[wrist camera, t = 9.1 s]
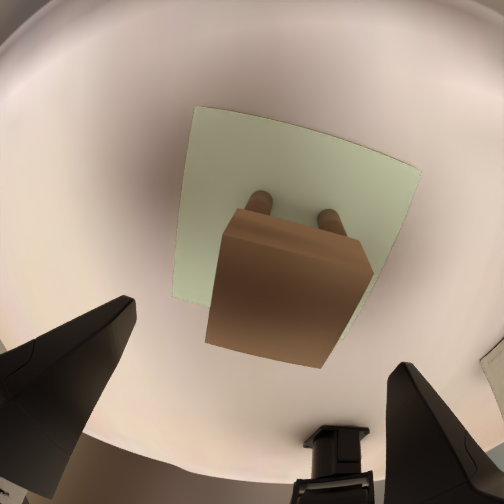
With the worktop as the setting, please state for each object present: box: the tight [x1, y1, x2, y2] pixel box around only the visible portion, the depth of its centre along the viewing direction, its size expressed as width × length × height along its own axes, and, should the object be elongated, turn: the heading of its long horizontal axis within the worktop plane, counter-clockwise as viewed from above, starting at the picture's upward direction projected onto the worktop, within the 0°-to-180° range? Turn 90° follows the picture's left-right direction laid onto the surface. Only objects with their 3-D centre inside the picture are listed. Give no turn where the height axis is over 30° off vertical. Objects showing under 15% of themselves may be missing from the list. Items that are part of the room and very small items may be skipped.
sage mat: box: [172, 106, 422, 339], centre depth 15 cm, size 12×12×1 cm
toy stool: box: [205, 190, 374, 369], centre depth 12 cm, size 5×5×6 cm
